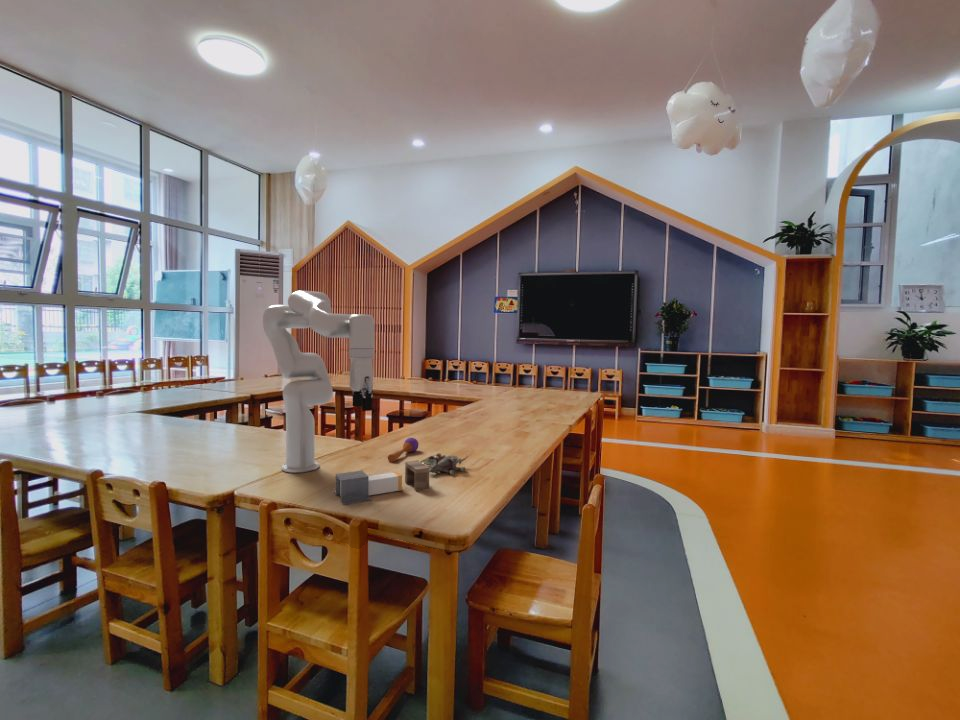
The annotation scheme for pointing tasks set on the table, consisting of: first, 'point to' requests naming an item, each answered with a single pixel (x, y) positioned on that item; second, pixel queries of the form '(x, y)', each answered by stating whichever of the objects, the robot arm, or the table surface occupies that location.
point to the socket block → (417, 475)
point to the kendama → (404, 449)
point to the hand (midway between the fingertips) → (362, 408)
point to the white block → (383, 483)
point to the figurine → (443, 463)
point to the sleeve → (352, 487)
